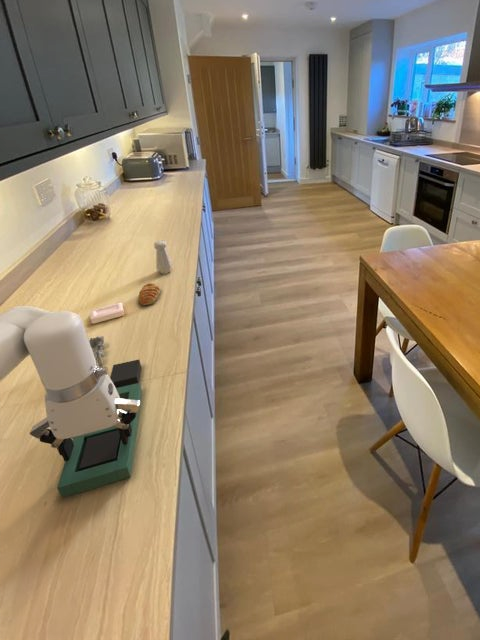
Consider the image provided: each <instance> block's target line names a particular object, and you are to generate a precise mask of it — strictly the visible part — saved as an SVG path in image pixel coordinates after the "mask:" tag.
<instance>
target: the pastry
mask: <svg viewBox="0 0 480 640" xmlns="http://www.w3.org/2000/svg"><path fill="white" fill-rule="evenodd" d="M160 292H161V287H160V286H158V285H157V284H156V283H152V282H151V283H146V284H144V285H143V286H142V287H141V289H140V291H139V292H138V300H139V302H140V304H141V305H142V306H147V305H152V304H154V303H155V301H156V300H158V298H159V296H160Z"/></svg>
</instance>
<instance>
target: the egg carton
mask: <svg viewBox="0 0 480 640" xmlns="http://www.w3.org/2000/svg"><path fill="white" fill-rule="evenodd" d="M104 338H105V337H104V336H103V335H101V336H98V335H97V336H96V337H90V338H89V342H90V345H91V348H92V351H93V354H94V357H95V360H96V362H98V364H99V366H100V367H101V366H102V365H103V363H104V361H103V358H102V357H104V355H105V354H104V351H103V349H104V348H105V339H104Z"/></svg>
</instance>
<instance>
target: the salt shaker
mask: <svg viewBox="0 0 480 640" xmlns="http://www.w3.org/2000/svg"><path fill="white" fill-rule="evenodd" d="M153 247H154V249H155V250H156V251H155V252H156V257H155V259H156V260H155V263H156V265H155V267H156V270H157V271H158V272H159V274H161V275H166V274H168V273H171V270H172V267H173V265H172V264H173V263H172V261H171V259H170V257H169V254H168V251H167V249H166V247H167V242H166V241H164V240H157V241H155V242H154V243H153Z"/></svg>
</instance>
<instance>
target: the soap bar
mask: <svg viewBox="0 0 480 640" xmlns="http://www.w3.org/2000/svg"><path fill="white" fill-rule="evenodd" d="M124 309H125V308H124V304H123V302H117V303H113V304H109V305H106V306H102V307H98V308H97V307H96V308H93V309H90V310H89V320H90V323H91V324H93V325H94V324H98V323H102V322H105V321H108V320H112V319H116V318H120V317H123V316H124V315H125V310H124Z"/></svg>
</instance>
